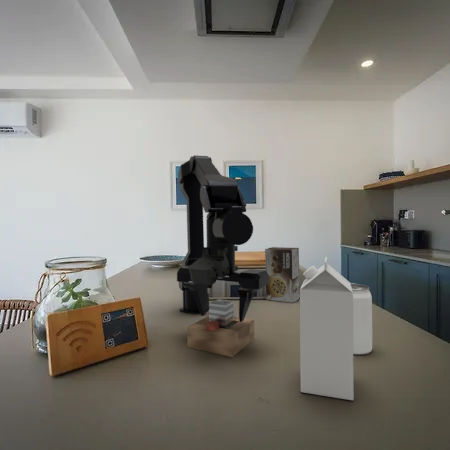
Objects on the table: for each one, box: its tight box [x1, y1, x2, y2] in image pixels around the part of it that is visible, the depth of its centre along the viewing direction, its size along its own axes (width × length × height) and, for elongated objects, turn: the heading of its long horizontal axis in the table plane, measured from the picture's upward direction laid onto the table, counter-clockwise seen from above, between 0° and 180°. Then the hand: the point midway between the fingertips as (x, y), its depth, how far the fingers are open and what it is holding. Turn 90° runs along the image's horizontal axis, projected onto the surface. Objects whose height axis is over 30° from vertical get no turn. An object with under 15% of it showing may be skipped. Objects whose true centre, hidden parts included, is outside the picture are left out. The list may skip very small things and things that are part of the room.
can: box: [350, 283, 373, 356], centre depth 60 cm, size 6×6×12 cm
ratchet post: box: [208, 298, 235, 329], centre depth 64 cm, size 4×4×8 cm
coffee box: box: [264, 246, 300, 304], centre depth 98 cm, size 9×6×16 cm
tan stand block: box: [186, 315, 255, 358], centre depth 64 cm, size 10×10×5 cm
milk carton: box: [299, 256, 355, 401], centre depth 47 cm, size 7×7×19 cm
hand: (221, 318), depth 64 cm, fingers open, 9 cm apart
